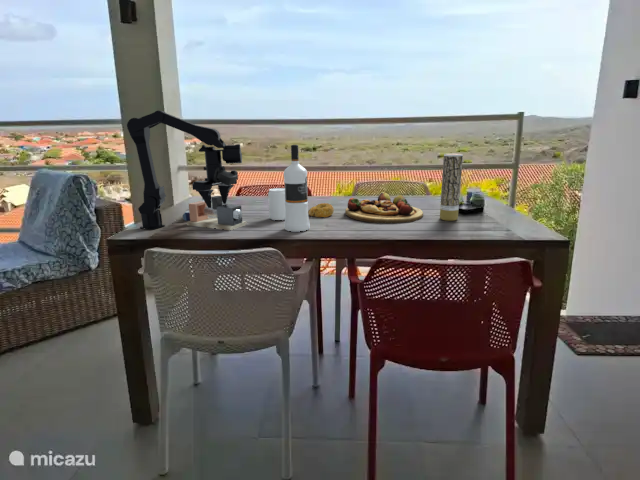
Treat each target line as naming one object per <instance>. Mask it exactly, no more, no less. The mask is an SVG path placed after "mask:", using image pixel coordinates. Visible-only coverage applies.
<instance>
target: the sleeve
mask: <svg viewBox="0 0 640 480" xmlns="http://www.w3.org/2000/svg"><path fill="white" fill-rule="evenodd" d="M233 209H239V210H241V211H242V210H243V209H242V205H240V204H231V203H230V204H229V203H228V204H227V203H226V204H222V205H221V206H218V207H217V217H216V218H218V224H221V225H230V226H234V225H237V224H240V223H242V221H243V216H242V217H241V219H234V217H233ZM242 212H243V211H242Z"/></svg>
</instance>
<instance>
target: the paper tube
mask: <svg viewBox="0 0 640 480" xmlns="http://www.w3.org/2000/svg"><path fill="white" fill-rule="evenodd" d="M443 154H444V155H443V162H442V163H443V164H442V175H441V176H442V179H441V194H440V206H439V208H440V209H439V210H440V211H439V219H440V220H442V221H446V222H447V221H449V222H453V221H457V220H458V219H459V209H460V197H461V195H460V194H461V186H462V185H461V184H462V171H463V158H464V154H463V153H443Z"/></svg>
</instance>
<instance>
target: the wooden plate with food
mask: <svg viewBox="0 0 640 480" xmlns="http://www.w3.org/2000/svg"><path fill="white" fill-rule="evenodd" d="M344 212H345V213H344V214H345V215H346V216H347V217H349V218H351V219H353V220H357V221H360V222H367V223H373V224H404V223H411V222H415V221H419V220H421V219H422V218H423V217H424V212H423V211H422V209H420V208H419V207H414V206H412V205H411V203H409V202H408V200H407V199H406V197H404V196H403V195H402V194H399V195H397V196H395V197H394V198H393V200H391V196H390V195H389V194H388V193H386V192H385V191H382V192H381V193H380V194H379V195H378V197H377V200H375V199H374V200H370V199H363V200H361V201H360V200H359V199H358V198H355V197H351V198H349V199H348V201H347V207H346V209H345V211H344Z"/></svg>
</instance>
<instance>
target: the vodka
mask: <svg viewBox="0 0 640 480" xmlns="http://www.w3.org/2000/svg"><path fill="white" fill-rule="evenodd" d="M290 157H291V160H290V161H291V164H290V165H289V166H287V167H286V168H285V169H284V170H283V183H284V188H285V209H286V211H285V220H284V223H283V224H284V225H283V226H284V229H285V231H287V232H289V231H291V232H290V233H301V232H300V231H303V232H306V230H307V231H308V230H310V227H311V225H310V224H311V223H310V217H309V215H308V211H309V208H308V206H309V202H308V200H309V199H308V198H309V196H308V170H307V169H306V168H305V167H304V166H303V165H301V164H300V160H299V145H298V144H291V145H290Z"/></svg>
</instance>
